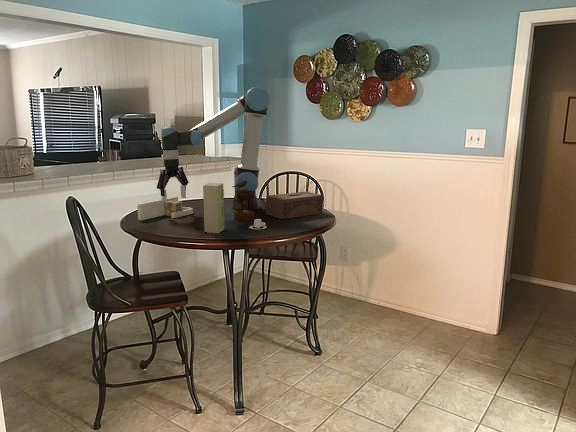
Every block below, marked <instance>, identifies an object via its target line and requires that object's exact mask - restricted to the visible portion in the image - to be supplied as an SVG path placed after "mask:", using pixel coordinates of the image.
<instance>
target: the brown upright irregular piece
mask: <svg viewBox="0 0 576 432" xmlns="http://www.w3.org/2000/svg"><path fill="white" fill-rule="evenodd" d="M246 184H247V181H246V180H244V181H243V182H240V183H238V184H236V185H235V186H234V185H232V186H231V187H232V188H235V187H237V188H239V191H237V192H236V200H234V202H236V207H235V210H234V213H233V218H234V219H233V220H234V221H235V222H236V221H237V222H238V221H239V222H249V221H250V222H251V221H255V219H256V216H255V215H256V213H255V211H254V210H250V205H253V203H252V202H251V201H253V200H250V199H253V197H254V192H253V191H249V190H247V188H246V189H245V188H244V189H243V190H242V191H240V188H242V187H244V186H246V187H247V185H246ZM237 188H236V190H237ZM237 199H238V200H237ZM242 200H243V204H242ZM245 200H246V201H245ZM247 200H248V204H247ZM237 202H240V203H241V204H239V206H237ZM243 206H244V207H245V208H247V206H248V210H243V209H244V208H243ZM238 207H239V208H238Z"/></svg>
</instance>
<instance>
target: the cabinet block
mask: <svg viewBox="0 0 576 432" xmlns="http://www.w3.org/2000/svg"><path fill="white" fill-rule="evenodd" d="M182 207H183V202H182V201H179V200H178V201H167V202H165V214H166V215H165V216H170V217H172V216H171V213H174V212H178V211H182Z"/></svg>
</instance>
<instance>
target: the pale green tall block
mask: <svg viewBox="0 0 576 432" xmlns="http://www.w3.org/2000/svg"><path fill="white" fill-rule="evenodd" d="M202 189H203V191H202V194H203V220H204V221H203V222H204V223H203V225H204V230H203V231H204V233H205V232H207V233H208V234H219V233H221V232H223V230H225V201H224V198H225V194H224V193H225V192H224V191H225V190H224V183H222V182H208V183H206V184H205V183H204V184H203V186H202ZM207 233H206V234H207Z"/></svg>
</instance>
